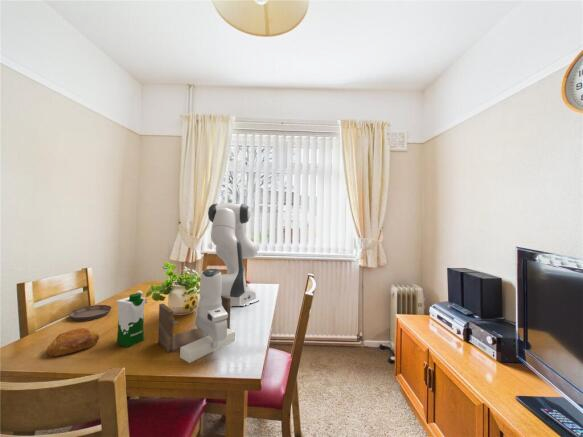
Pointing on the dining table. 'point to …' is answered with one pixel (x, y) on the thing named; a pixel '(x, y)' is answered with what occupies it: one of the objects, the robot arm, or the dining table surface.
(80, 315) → the plant saucer
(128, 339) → the milk carton
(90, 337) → the croissant
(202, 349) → the shelf board
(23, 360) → the dining table surface
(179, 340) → the shelf frame
